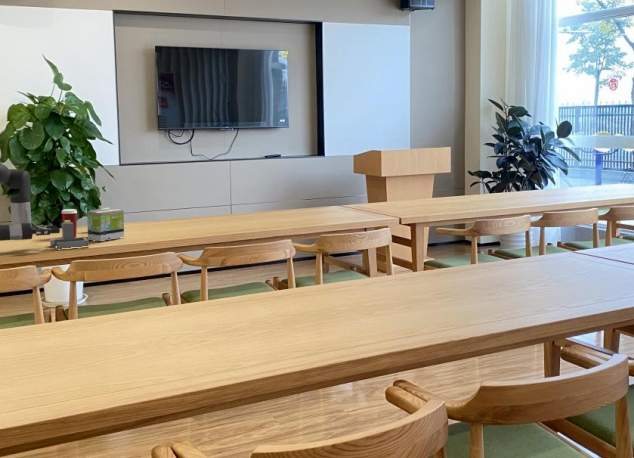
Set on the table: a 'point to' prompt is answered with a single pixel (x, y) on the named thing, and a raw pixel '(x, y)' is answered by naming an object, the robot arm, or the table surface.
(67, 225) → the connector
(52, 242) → the cable clip
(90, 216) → the tea box
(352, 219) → the table surface
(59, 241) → the end holder
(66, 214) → the paper cup
